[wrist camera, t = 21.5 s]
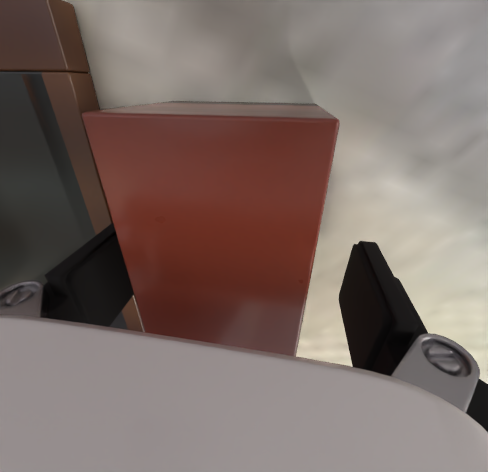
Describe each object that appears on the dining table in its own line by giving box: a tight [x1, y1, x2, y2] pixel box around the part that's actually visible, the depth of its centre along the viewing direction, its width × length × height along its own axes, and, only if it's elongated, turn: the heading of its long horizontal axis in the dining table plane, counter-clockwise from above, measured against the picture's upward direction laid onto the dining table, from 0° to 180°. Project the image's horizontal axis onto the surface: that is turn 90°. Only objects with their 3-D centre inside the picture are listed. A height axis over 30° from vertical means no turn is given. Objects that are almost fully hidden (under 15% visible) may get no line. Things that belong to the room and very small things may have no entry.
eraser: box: [82, 101, 340, 357], centre depth 11 cm, size 13×6×5 cm, turn 0°
